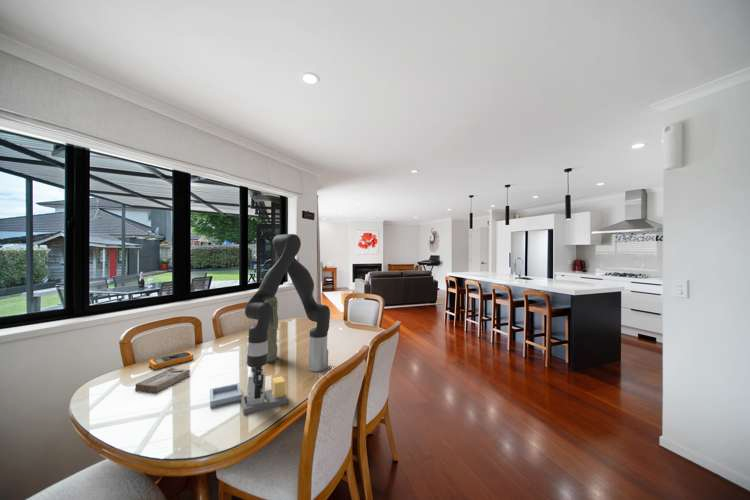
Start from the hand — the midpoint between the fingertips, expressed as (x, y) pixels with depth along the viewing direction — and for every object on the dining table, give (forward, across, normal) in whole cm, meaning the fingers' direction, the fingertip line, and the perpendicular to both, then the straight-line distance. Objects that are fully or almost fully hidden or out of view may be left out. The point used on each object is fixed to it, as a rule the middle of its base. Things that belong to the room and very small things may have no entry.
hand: (256, 394), depth 110 cm
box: (+5, +38, +33) cm, 51 cm away
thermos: (+4, +44, -13) cm, 46 cm away
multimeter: (+5, +62, +32) cm, 70 cm away
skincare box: (+4, 0, 0) cm, 4 cm away
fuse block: (+4, 0, -2) cm, 4 cm away
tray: (+4, +11, +10) cm, 15 cm away
